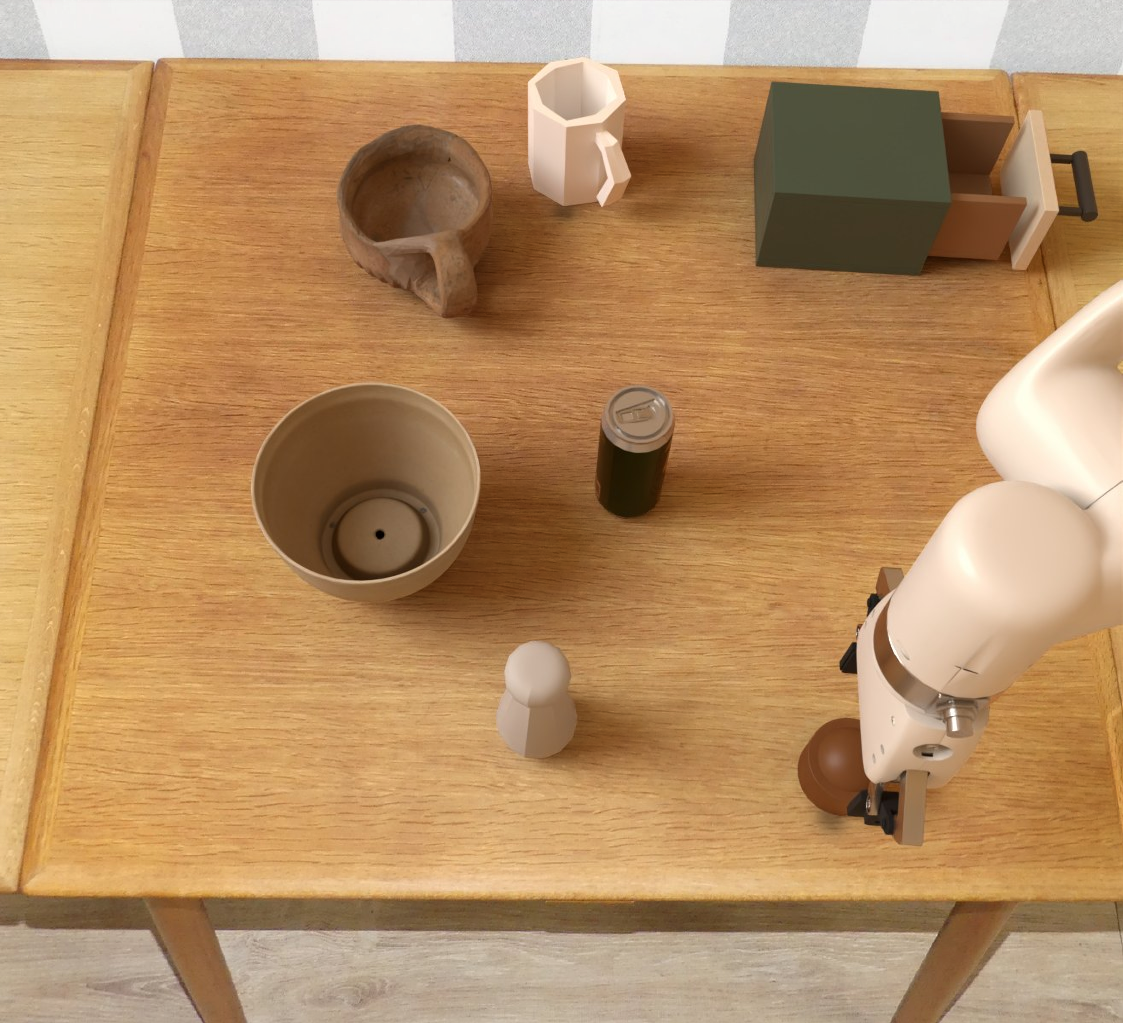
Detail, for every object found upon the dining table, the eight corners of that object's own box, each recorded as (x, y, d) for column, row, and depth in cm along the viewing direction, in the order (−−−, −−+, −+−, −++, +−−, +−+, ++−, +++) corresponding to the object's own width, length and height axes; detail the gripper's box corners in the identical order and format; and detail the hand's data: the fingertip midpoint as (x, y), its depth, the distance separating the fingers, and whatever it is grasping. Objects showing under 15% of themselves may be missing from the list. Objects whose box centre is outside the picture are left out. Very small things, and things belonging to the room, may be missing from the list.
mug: (511, 161, 114) (509, 80, 105) (588, 125, 116) (592, 43, 108) (581, 247, 110) (585, 170, 101) (659, 208, 112) (670, 129, 103)
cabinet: (908, 169, 115) (939, 91, 106) (919, 276, 109) (952, 202, 101) (753, 159, 115) (771, 81, 106) (755, 266, 109) (774, 192, 101)
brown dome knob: (878, 736, 90) (896, 714, 85) (883, 818, 87) (903, 799, 82) (796, 730, 90) (810, 708, 85) (798, 812, 87) (813, 794, 82)
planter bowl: (298, 664, 91) (270, 607, 81) (263, 480, 98) (234, 408, 88) (507, 612, 93) (505, 551, 84) (459, 436, 100) (451, 361, 91)
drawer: (1062, 175, 114) (1096, 113, 107) (1078, 273, 108) (1116, 214, 102) (866, 164, 114) (888, 101, 107) (873, 261, 109) (897, 201, 102)
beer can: (603, 528, 97) (612, 452, 86) (587, 470, 99) (593, 389, 89) (668, 514, 98) (685, 437, 87) (650, 457, 100) (665, 375, 89)
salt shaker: (481, 717, 90) (474, 655, 78) (545, 675, 91) (547, 608, 80) (526, 782, 87) (526, 728, 76) (591, 738, 89) (600, 678, 77)
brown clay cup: (569, 274, 107) (544, 214, 97) (442, 373, 106) (405, 323, 97) (455, 146, 113) (422, 78, 103) (335, 239, 112) (290, 180, 103)
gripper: (1038, 809, 61) (934, 877, 76) (1000, 504, 69) (913, 620, 84) (888, 800, 61) (814, 870, 76) (867, 495, 69) (804, 613, 84)
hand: (866, 739), depth 80 cm, fingers open, 9 cm apart
